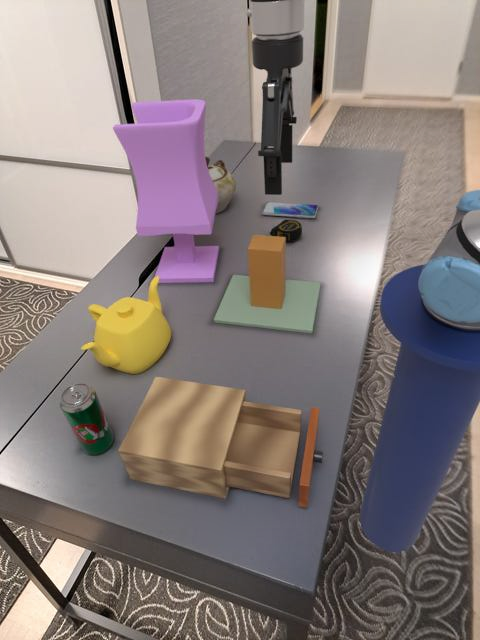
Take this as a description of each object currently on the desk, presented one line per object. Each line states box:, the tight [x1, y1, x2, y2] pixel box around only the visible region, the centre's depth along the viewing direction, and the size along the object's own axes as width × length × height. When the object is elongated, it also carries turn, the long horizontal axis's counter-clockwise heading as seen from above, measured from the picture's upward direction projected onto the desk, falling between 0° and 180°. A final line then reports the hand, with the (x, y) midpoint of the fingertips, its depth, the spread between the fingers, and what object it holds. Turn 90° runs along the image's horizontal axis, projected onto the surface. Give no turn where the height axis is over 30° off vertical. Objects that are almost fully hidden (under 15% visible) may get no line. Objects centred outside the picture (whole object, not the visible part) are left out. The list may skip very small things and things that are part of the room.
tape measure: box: [269, 219, 303, 243], centre depth 112 cm, size 7×7×4 cm
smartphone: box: [261, 201, 319, 219], centre depth 124 cm, size 7×1×15 cm
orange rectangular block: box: [247, 234, 287, 309], centre depth 89 cm, size 6×5×14 cm
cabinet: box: [117, 376, 247, 500], centre depth 66 cm, size 15×14×8 cm
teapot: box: [80, 276, 172, 375], centre depth 83 cm, size 22×16×11 cm
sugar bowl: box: [205, 156, 237, 214], centre depth 124 cm, size 20×15×15 cm
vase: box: [112, 98, 220, 284], centre depth 95 cm, size 16×16×35 cm
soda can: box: [59, 382, 115, 456], centre depth 66 cm, size 5×5×12 cm
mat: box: [213, 274, 322, 334], centre depth 94 cm, size 20×16×1 cm
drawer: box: [223, 401, 324, 509], centre depth 63 cm, size 15×12×6 cm
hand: (279, 177), depth 78 cm, fingers open, 13 cm apart
